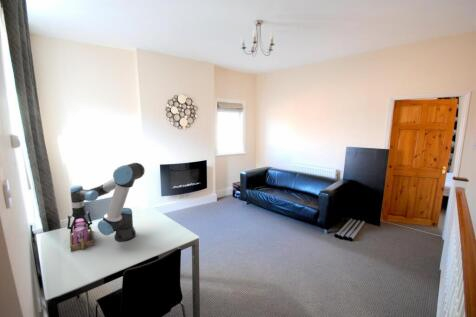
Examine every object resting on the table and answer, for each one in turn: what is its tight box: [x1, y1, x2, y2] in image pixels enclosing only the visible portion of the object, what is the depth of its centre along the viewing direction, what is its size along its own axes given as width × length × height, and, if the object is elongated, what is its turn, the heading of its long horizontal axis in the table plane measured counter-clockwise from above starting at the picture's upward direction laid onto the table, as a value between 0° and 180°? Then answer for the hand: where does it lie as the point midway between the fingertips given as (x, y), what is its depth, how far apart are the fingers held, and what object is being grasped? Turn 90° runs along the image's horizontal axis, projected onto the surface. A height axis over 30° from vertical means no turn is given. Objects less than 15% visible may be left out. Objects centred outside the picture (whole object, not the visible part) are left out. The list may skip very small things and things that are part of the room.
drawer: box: [69, 226, 95, 252], centre depth 172 cm, size 14×29×8 cm, turn 36°
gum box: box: [72, 216, 88, 245], centre depth 172 cm, size 24×8×14 cm, turn 33°
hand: (81, 235), depth 173 cm, fingers closed on gum box, 8 cm apart
